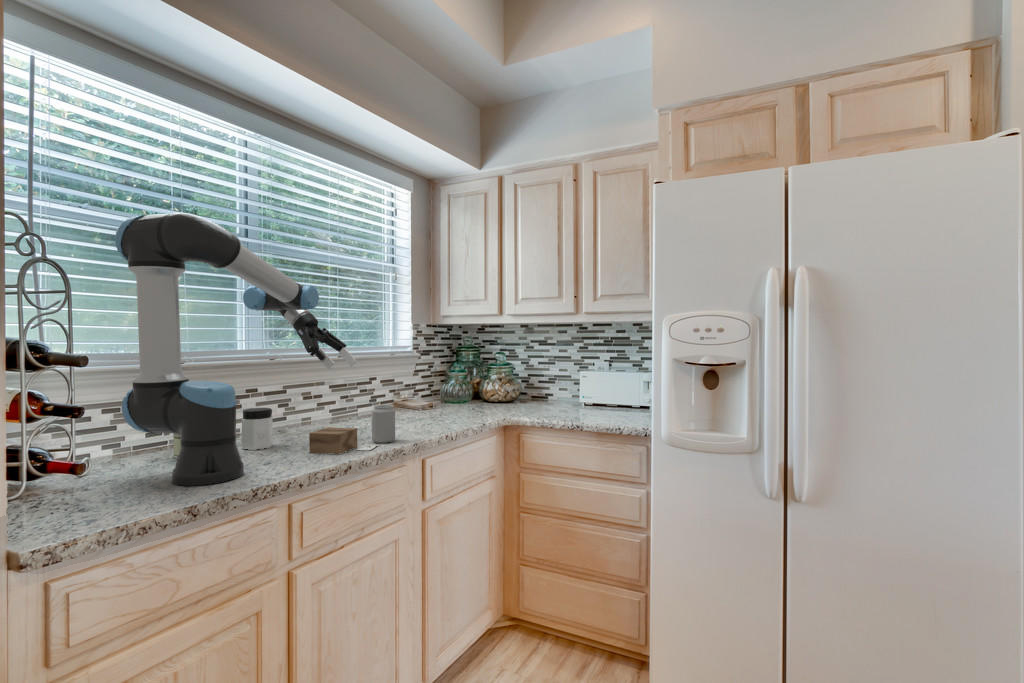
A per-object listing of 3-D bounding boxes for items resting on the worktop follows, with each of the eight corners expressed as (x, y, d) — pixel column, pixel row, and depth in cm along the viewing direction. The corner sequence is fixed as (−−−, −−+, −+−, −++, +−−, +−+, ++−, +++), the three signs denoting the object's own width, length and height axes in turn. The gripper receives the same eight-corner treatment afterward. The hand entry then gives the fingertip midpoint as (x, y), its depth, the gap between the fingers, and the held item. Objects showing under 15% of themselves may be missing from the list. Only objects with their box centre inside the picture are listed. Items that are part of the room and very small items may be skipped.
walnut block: (339, 454, 149) (339, 434, 149) (309, 453, 151) (309, 432, 151) (357, 447, 159) (357, 428, 159) (328, 446, 161) (328, 427, 161)
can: (399, 440, 171) (399, 404, 171) (388, 444, 163) (388, 407, 163) (378, 439, 172) (378, 403, 172) (367, 443, 165) (367, 406, 165)
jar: (246, 451, 154) (246, 412, 154) (238, 447, 159) (237, 409, 159) (277, 447, 160) (276, 409, 160) (268, 443, 166) (267, 406, 166)
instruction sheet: (370, 450, 154) (370, 450, 154) (354, 450, 154) (354, 449, 154) (379, 445, 162) (379, 444, 162) (364, 445, 162) (364, 444, 162)
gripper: (316, 328, 184) (355, 369, 181) (270, 327, 159) (313, 376, 156) (329, 313, 182) (368, 355, 180) (284, 310, 158) (329, 359, 155)
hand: (343, 365), depth 168 cm, fingers open, 13 cm apart
